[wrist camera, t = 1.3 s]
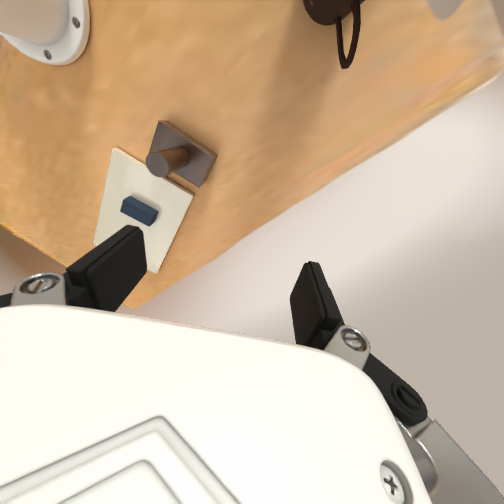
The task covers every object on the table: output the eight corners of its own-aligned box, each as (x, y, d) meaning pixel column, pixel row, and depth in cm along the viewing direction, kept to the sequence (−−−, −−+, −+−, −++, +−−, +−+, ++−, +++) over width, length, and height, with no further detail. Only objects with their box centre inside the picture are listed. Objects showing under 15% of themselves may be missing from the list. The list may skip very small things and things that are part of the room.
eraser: (126, 207, 34) (119, 211, 32) (130, 195, 33) (122, 199, 31) (154, 222, 35) (149, 227, 34) (159, 211, 34) (153, 215, 32)
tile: (96, 241, 40) (92, 244, 39) (116, 147, 30) (112, 148, 29) (158, 271, 43) (156, 274, 42) (195, 194, 33) (193, 196, 32)
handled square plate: (156, 153, 30) (116, 164, 22) (167, 120, 28) (126, 118, 20) (204, 183, 32) (182, 203, 24) (217, 154, 30) (199, 166, 21)
